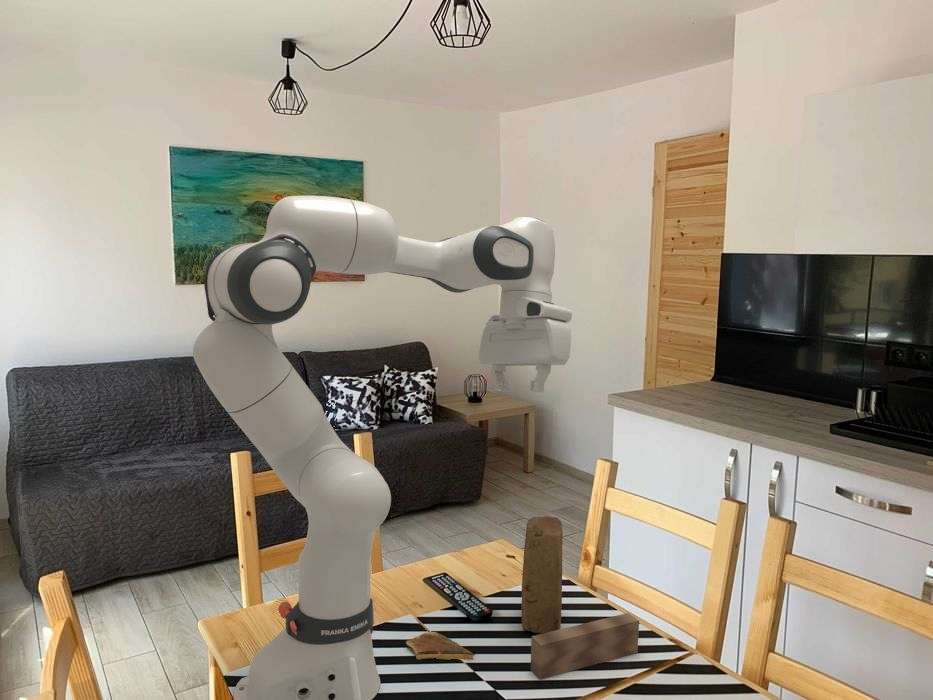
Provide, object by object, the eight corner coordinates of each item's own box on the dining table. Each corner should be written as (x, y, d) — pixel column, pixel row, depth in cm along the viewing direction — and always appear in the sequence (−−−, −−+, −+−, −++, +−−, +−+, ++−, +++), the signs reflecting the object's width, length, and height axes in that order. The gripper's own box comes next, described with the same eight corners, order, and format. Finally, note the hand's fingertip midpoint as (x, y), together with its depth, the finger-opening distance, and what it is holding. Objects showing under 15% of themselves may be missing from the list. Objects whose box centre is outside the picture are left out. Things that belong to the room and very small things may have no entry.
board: (539, 679, 116) (540, 645, 116) (530, 670, 119) (531, 636, 118) (637, 652, 125) (639, 620, 124) (626, 644, 128) (628, 612, 127)
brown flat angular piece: (475, 662, 122) (475, 652, 122) (441, 679, 117) (441, 669, 117) (434, 637, 130) (434, 627, 130) (401, 652, 125) (401, 642, 124)
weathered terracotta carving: (560, 638, 129) (564, 533, 127) (519, 635, 130) (522, 530, 128) (561, 610, 140) (564, 512, 137) (523, 607, 141) (525, 509, 138)
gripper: (474, 313, 130) (467, 388, 129) (551, 304, 114) (544, 390, 112) (500, 318, 134) (494, 392, 132) (579, 311, 117) (573, 394, 116)
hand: (518, 391), depth 122 cm, fingers open, 8 cm apart
